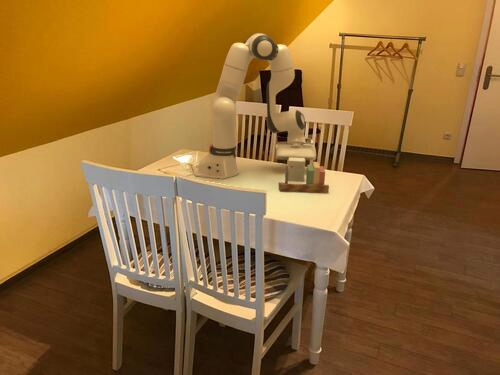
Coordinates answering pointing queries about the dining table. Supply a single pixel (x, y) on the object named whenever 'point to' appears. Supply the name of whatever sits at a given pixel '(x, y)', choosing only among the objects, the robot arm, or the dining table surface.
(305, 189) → the walnut rail
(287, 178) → the bookend
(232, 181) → the dining table surface
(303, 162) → the small box
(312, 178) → the upright books
